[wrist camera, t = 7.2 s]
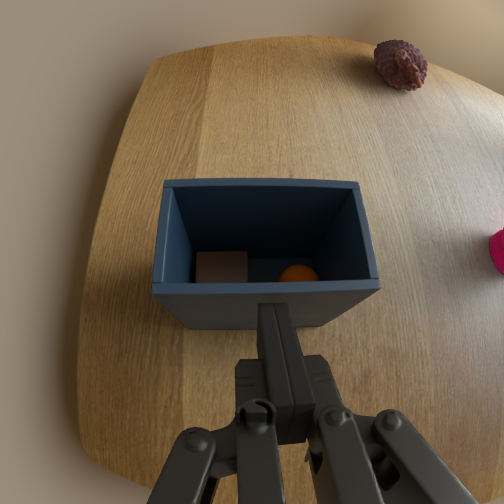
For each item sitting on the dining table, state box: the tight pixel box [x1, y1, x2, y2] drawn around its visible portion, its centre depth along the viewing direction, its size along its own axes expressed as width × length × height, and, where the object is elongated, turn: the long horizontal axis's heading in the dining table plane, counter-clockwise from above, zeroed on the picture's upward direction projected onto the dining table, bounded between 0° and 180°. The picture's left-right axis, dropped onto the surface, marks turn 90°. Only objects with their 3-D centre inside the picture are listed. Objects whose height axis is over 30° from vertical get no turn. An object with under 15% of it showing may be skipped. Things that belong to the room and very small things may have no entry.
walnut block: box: [196, 251, 248, 283], centre depth 24 cm, size 4×4×4 cm
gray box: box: [151, 178, 381, 330], centre depth 21 cm, size 7×12×12 cm, turn 92°
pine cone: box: [374, 40, 428, 91], centre depth 40 cm, size 18×10×10 cm
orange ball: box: [278, 264, 320, 282], centre depth 25 cm, size 4×4×4 cm
